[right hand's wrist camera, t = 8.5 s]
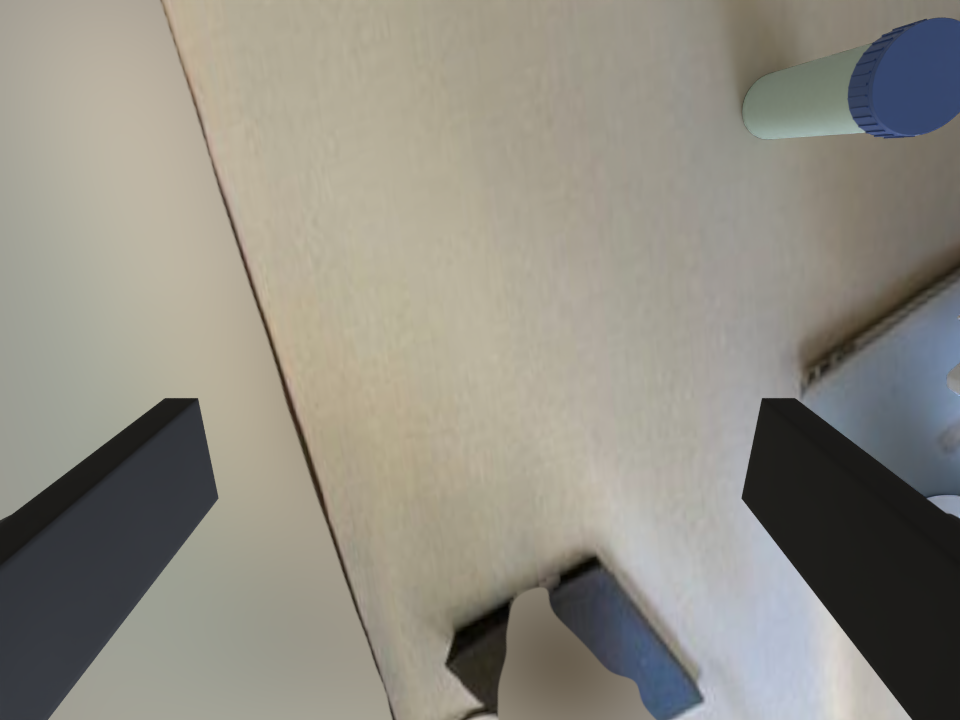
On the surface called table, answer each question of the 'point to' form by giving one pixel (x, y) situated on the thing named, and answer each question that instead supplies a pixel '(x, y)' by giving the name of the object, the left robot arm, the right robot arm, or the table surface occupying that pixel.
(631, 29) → the table surface
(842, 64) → the pale green bottle
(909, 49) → the lid
